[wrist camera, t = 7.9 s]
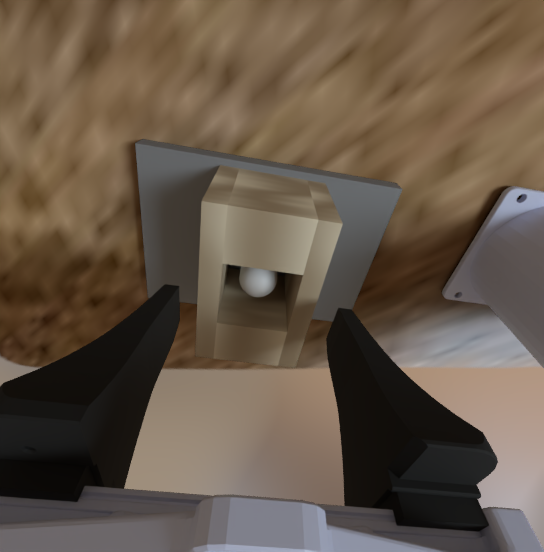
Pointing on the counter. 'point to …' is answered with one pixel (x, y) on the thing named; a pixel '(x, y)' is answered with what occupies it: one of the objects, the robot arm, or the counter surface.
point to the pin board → (183, 219)
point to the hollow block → (261, 264)
